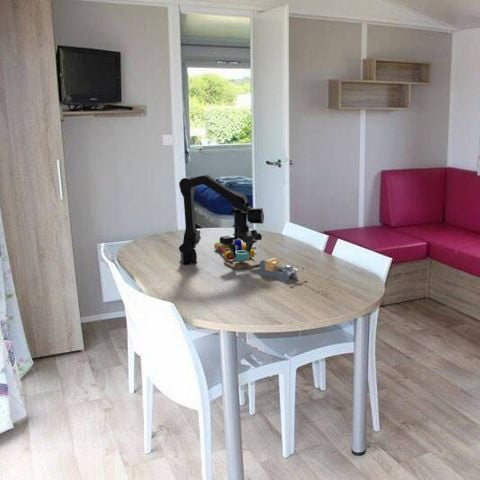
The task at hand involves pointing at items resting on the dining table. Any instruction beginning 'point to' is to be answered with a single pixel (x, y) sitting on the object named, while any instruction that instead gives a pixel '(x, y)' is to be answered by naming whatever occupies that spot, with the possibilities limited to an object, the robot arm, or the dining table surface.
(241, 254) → the ring
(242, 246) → the yellow jointed frame
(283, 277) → the vise
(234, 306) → the dining table surface
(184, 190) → the robot arm
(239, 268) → the post stand
